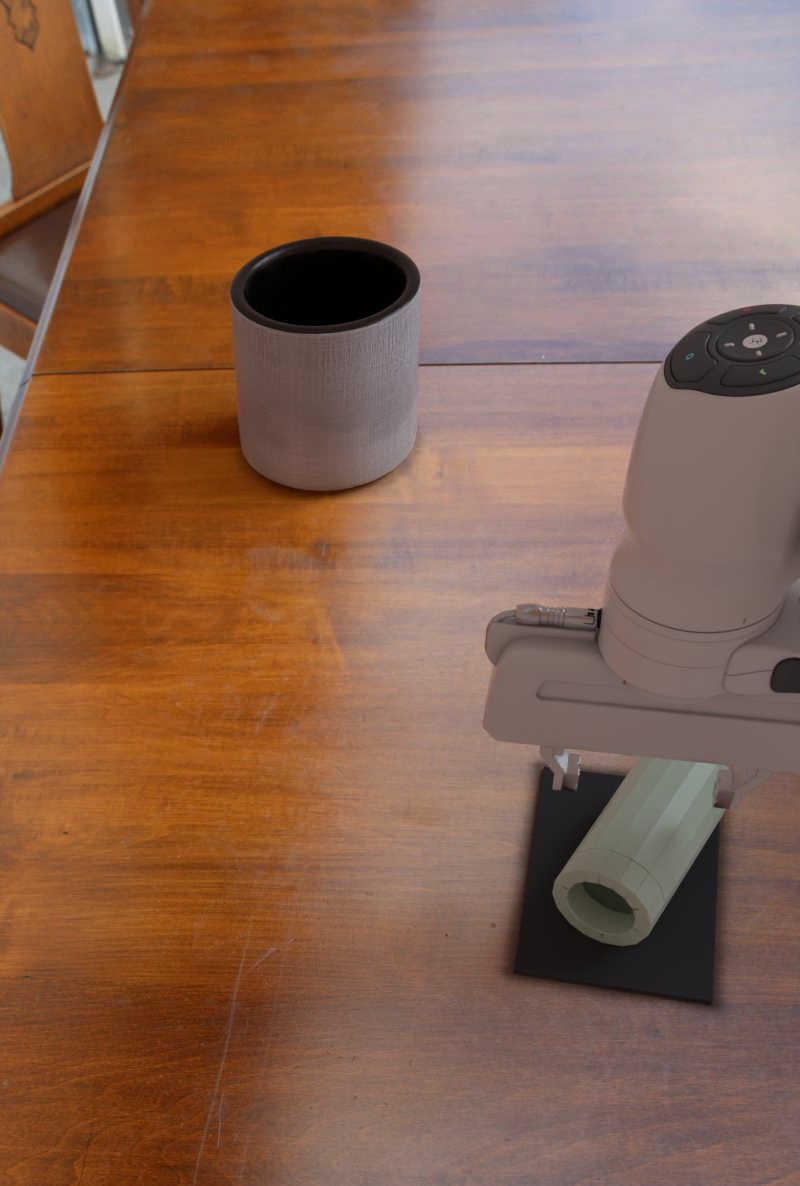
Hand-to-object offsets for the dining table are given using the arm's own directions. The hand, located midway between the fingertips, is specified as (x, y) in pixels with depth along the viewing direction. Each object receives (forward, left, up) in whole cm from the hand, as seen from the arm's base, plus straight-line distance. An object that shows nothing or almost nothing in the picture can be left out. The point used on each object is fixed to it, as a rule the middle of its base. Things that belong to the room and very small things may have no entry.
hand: (643, 792), depth 82 cm
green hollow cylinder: (+1, -7, -5) cm, 9 cm away
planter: (+50, -22, -9) cm, 55 cm away
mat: (0, 0, -9) cm, 9 cm away
